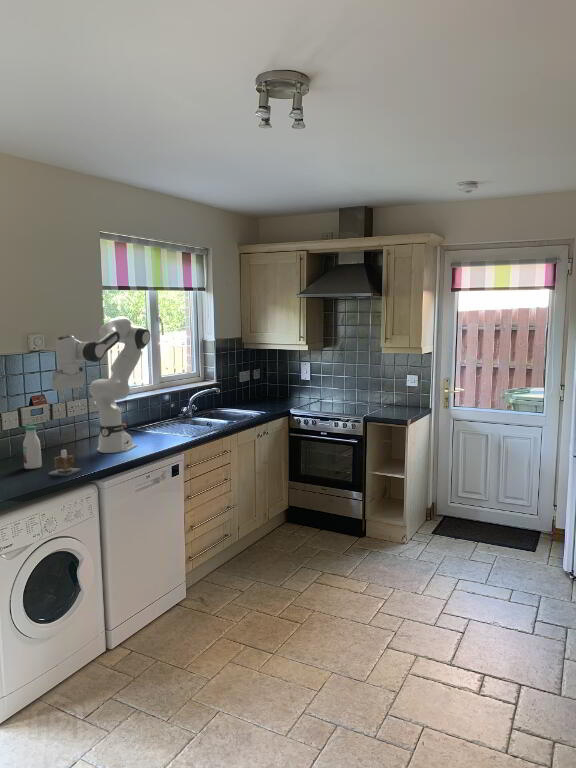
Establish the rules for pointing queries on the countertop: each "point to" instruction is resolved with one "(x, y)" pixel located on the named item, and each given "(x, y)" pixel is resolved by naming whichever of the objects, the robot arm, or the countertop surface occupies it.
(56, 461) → the collar
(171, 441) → the countertop surface
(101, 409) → the robot arm
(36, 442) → the milk bottle
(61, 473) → the post
